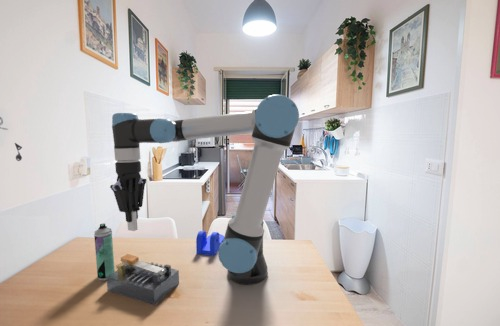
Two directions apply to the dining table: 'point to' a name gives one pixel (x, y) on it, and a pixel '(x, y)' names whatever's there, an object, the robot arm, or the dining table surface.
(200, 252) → the bracket
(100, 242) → the spray can
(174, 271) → the finned block
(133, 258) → the bar
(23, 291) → the dining table surface
